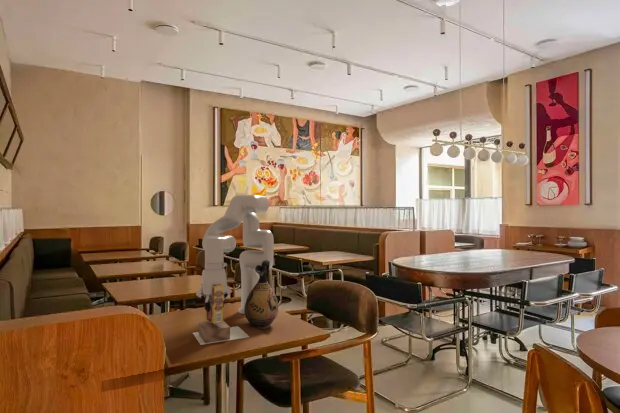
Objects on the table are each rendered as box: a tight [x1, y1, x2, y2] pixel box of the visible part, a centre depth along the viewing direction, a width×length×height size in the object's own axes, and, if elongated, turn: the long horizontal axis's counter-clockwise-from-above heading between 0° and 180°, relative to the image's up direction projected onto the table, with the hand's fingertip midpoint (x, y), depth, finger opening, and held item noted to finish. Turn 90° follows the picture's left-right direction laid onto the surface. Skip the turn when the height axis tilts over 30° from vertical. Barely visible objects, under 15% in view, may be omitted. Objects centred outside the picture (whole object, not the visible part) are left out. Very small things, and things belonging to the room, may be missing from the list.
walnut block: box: [198, 319, 231, 344], centre depth 164 cm, size 10×12×5 cm
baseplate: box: [192, 325, 250, 346], centre depth 167 cm, size 20×16×1 cm
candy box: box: [205, 285, 224, 324], centre depth 164 cm, size 9×4×15 cm, turn 38°
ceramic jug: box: [244, 260, 279, 330], centre depth 182 cm, size 17×15×30 cm
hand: (214, 310), depth 164 cm, fingers closed on candy box, 4 cm apart
